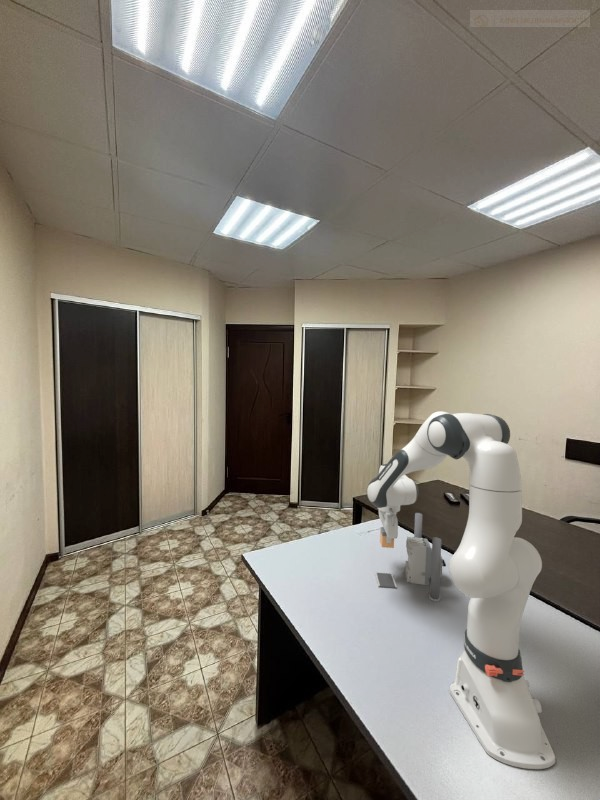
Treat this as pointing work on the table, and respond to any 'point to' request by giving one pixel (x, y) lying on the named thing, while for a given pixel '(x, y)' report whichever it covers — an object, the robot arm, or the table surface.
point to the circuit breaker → (419, 561)
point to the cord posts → (435, 559)
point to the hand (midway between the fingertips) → (387, 538)
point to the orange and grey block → (383, 539)
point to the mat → (385, 580)
